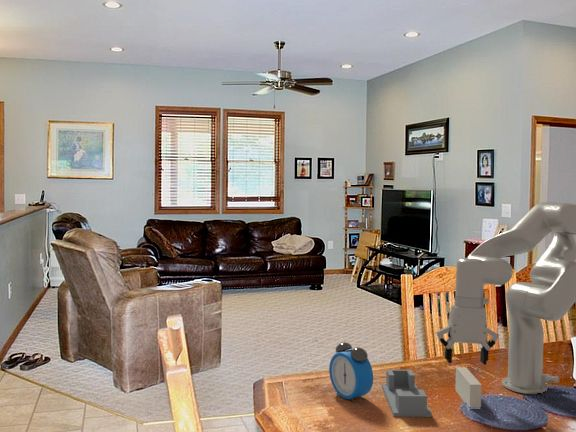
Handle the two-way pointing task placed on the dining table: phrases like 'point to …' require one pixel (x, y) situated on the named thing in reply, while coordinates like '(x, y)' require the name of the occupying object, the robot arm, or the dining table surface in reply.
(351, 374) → the alarm clock
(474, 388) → the light grey rectangular block
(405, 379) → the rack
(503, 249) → the robot arm
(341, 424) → the dining table surface
